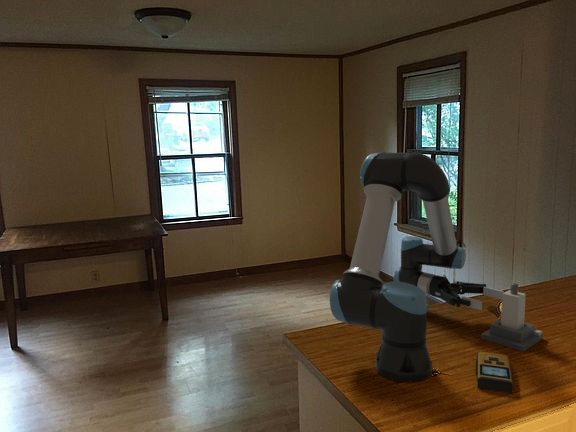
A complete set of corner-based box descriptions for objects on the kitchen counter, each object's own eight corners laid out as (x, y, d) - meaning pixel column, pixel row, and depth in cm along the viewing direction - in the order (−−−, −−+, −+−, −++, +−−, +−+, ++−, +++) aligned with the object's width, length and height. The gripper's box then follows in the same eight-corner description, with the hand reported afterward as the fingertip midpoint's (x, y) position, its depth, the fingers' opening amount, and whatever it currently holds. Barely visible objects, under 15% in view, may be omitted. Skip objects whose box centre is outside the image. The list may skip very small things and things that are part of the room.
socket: (523, 351, 141) (524, 337, 140) (481, 338, 151) (481, 324, 150) (542, 338, 149) (543, 324, 148) (501, 326, 159) (501, 313, 158)
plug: (516, 338, 146) (519, 287, 144) (500, 333, 150) (502, 284, 147) (523, 334, 149) (526, 284, 147) (507, 329, 153) (509, 280, 150)
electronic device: (509, 365, 134) (510, 353, 134) (514, 395, 119) (515, 382, 119) (475, 361, 137) (476, 349, 137) (475, 389, 122) (476, 376, 122)
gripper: (453, 287, 178) (510, 302, 162) (412, 304, 162) (471, 322, 146) (454, 268, 177) (511, 280, 161) (412, 283, 161) (471, 298, 145)
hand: (492, 300), depth 153 cm, fingers open, 13 cm apart
